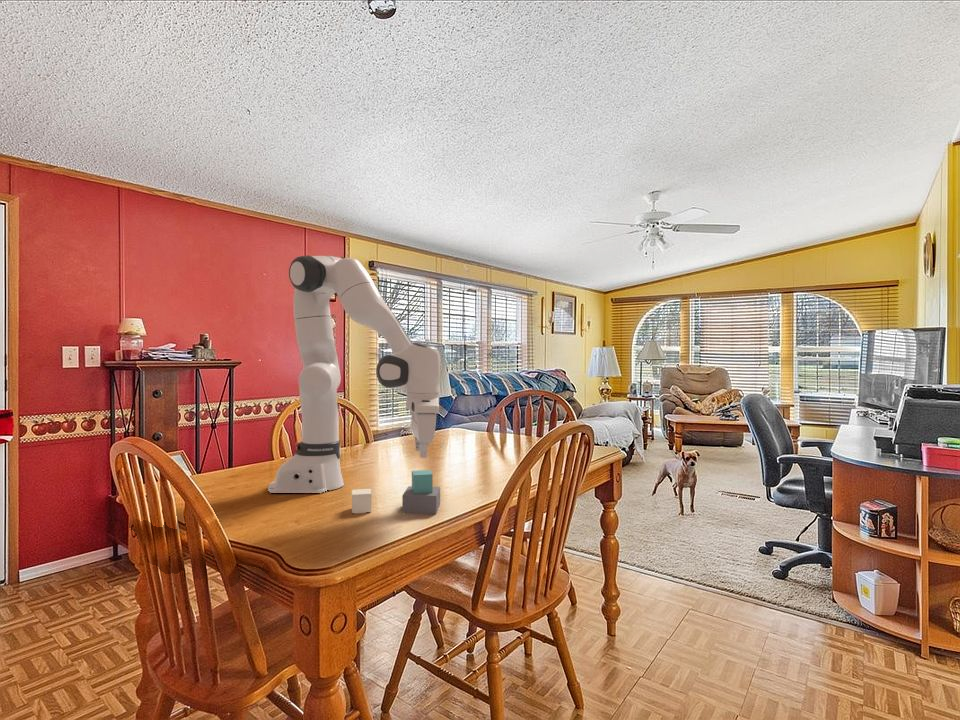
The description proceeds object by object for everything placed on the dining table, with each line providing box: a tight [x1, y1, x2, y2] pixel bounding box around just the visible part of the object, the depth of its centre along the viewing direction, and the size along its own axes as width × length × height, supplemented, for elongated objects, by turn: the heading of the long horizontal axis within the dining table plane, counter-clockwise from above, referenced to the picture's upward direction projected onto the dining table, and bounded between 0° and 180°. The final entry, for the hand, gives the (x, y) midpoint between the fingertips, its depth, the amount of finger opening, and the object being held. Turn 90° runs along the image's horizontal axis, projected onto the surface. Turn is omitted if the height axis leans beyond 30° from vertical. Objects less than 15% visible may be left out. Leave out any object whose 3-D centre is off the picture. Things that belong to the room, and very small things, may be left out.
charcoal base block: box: [401, 485, 441, 515], centre depth 145 cm, size 9×9×5 cm
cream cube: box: [351, 488, 372, 514], centre depth 143 cm, size 5×5×5 cm
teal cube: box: [411, 469, 434, 494], centre depth 145 cm, size 5×5×5 cm
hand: (420, 453), depth 145 cm, fingers open, 8 cm apart
